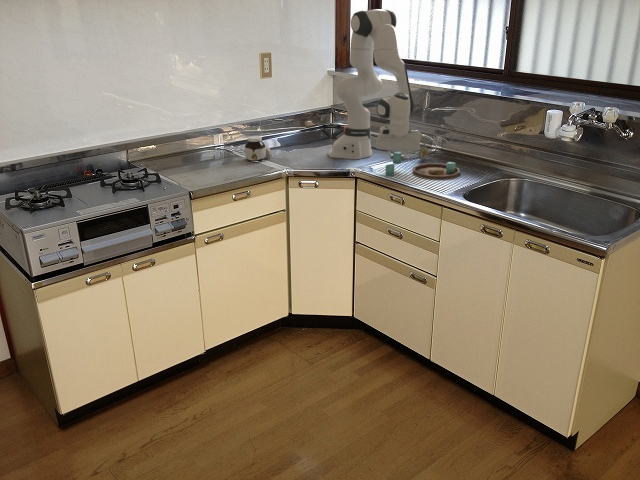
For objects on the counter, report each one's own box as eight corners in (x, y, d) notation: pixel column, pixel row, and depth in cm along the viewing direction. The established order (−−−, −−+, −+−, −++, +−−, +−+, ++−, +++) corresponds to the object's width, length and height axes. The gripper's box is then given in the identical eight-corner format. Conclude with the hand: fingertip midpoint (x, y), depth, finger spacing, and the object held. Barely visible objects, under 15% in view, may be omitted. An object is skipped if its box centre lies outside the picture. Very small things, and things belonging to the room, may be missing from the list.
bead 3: (446, 173, 283) (447, 164, 281) (445, 171, 287) (446, 161, 285) (455, 174, 282) (456, 164, 281) (454, 171, 286) (455, 162, 284)
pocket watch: (435, 165, 300) (436, 144, 296) (417, 164, 301) (419, 143, 297) (436, 160, 307) (437, 140, 303) (418, 159, 309) (419, 139, 305)
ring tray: (413, 180, 277) (413, 175, 276) (412, 167, 296) (412, 162, 295) (461, 181, 275) (461, 176, 274) (457, 168, 294) (457, 163, 293)
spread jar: (243, 161, 309) (241, 138, 304) (253, 156, 319) (252, 133, 314) (265, 163, 305) (264, 140, 300) (274, 157, 315) (273, 135, 310)
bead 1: (385, 176, 283) (385, 166, 282) (385, 173, 287) (385, 164, 285) (394, 176, 283) (394, 166, 281) (394, 174, 287) (394, 164, 285)
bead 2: (392, 163, 290) (393, 154, 288) (392, 160, 293) (393, 151, 291) (401, 163, 289) (401, 154, 287) (401, 161, 293) (401, 152, 291)
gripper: (421, 128, 287) (419, 157, 292) (377, 127, 289) (375, 156, 294) (422, 132, 281) (419, 161, 287) (376, 130, 283) (375, 159, 289)
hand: (397, 158), depth 291 cm, fingers closed on bead 2, 4 cm apart
